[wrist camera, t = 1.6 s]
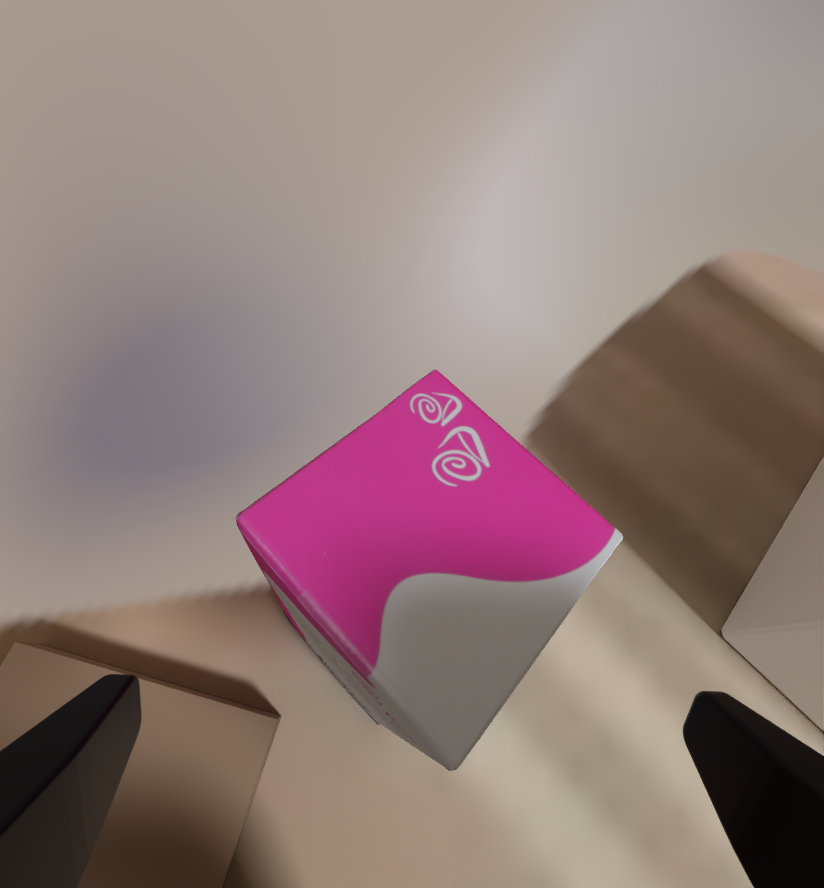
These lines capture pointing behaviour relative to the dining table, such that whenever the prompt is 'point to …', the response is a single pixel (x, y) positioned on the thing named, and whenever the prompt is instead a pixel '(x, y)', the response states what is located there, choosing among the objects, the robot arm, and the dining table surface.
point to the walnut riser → (154, 770)
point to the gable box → (789, 606)
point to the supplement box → (428, 563)
